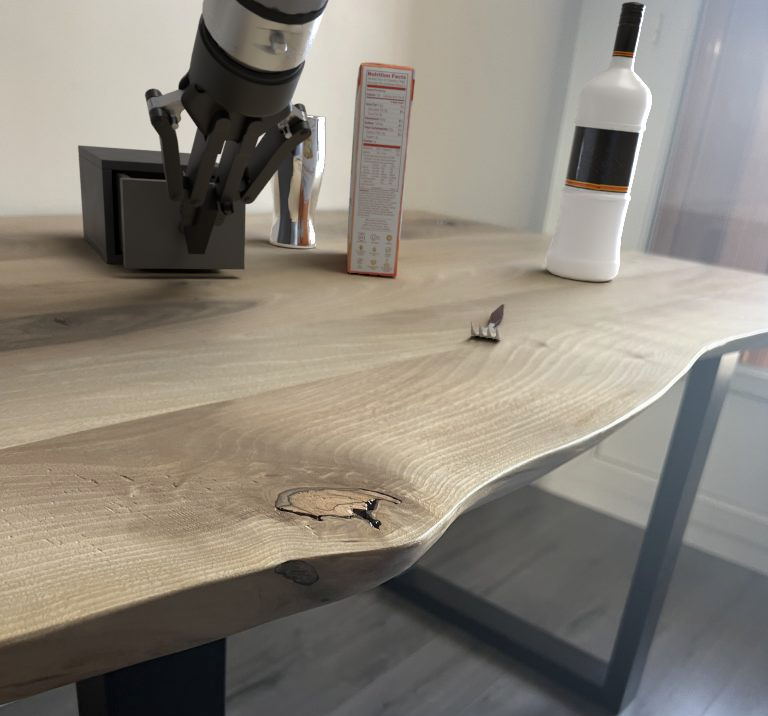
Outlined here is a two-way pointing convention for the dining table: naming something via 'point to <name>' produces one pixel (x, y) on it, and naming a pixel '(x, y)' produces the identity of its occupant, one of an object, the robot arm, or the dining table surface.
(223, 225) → the grey knobbed drawer
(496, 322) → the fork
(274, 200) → the beer glass
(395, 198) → the cracker box
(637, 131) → the vodka
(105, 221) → the small drawer box
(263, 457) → the dining table surface
